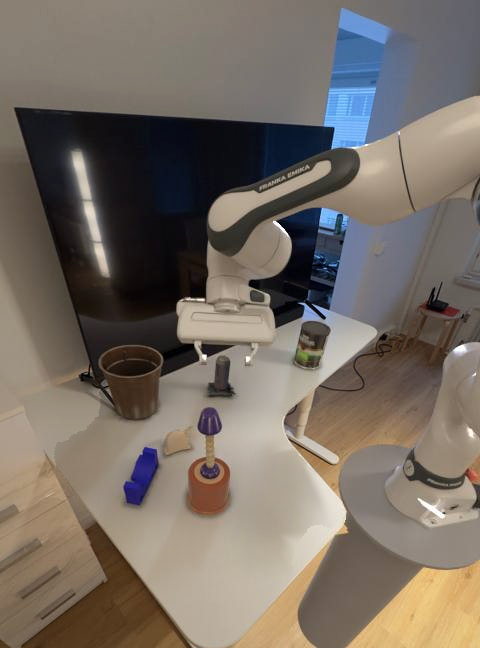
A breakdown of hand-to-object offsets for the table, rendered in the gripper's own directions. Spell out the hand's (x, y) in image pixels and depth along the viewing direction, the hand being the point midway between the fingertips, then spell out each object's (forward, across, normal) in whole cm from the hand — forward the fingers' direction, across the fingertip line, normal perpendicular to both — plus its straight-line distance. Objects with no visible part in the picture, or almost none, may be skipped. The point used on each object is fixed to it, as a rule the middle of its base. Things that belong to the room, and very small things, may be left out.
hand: (225, 365), depth 71 cm
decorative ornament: (+18, -11, +22) cm, 30 cm away
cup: (+29, -3, +10) cm, 31 cm away
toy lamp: (+22, -3, +4) cm, 23 cm away
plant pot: (+6, -24, +33) cm, 41 cm away
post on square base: (0, 0, +40) cm, 40 cm away
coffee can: (-14, +33, +54) cm, 65 cm away
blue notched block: (+26, -19, +13) cm, 35 cm away
